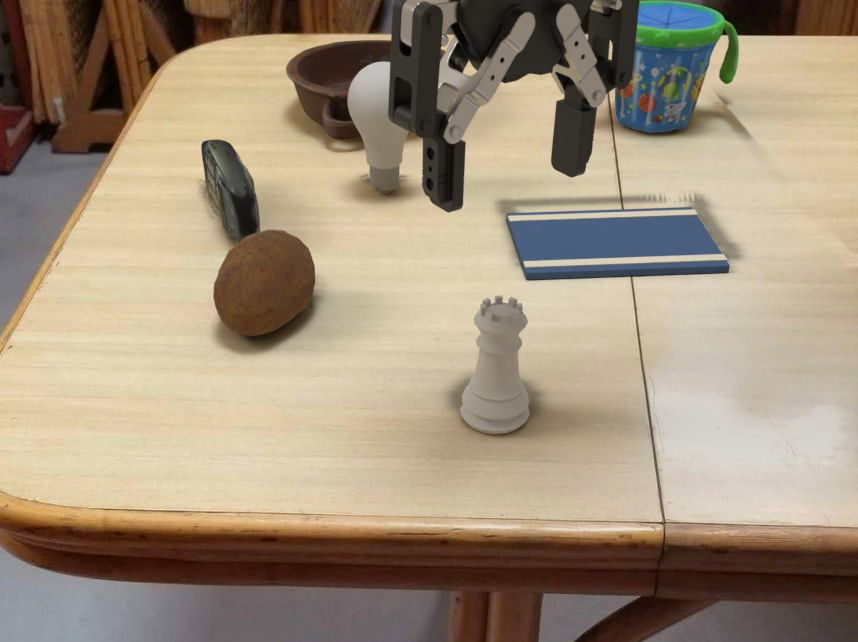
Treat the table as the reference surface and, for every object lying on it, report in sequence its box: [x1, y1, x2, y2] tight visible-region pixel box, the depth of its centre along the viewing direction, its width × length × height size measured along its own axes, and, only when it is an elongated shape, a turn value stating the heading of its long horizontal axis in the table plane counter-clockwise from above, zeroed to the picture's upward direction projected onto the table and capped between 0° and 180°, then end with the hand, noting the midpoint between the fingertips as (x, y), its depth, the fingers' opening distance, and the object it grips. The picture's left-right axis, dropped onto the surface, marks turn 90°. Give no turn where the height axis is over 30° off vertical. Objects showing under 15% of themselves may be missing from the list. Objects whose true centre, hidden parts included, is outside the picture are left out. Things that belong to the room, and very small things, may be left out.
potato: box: [212, 229, 316, 337], centre depth 77 cm, size 7×10×6 cm
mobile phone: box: [200, 139, 261, 243], centre depth 90 cm, size 5×3×15 cm
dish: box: [285, 39, 446, 141], centre depth 109 cm, size 18×22×5 cm
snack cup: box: [614, 0, 740, 134], centre depth 105 cm, size 16×10×10 cm
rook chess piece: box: [459, 295, 531, 435], centre depth 66 cm, size 4×4×8 cm
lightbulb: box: [348, 62, 410, 194], centre depth 92 cm, size 6×6×11 cm
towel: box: [505, 206, 731, 281], centre depth 87 cm, size 16×11×1 cm
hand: (508, 188), depth 59 cm, fingers open, 8 cm apart
